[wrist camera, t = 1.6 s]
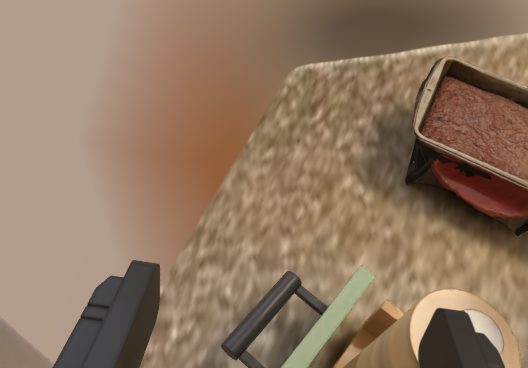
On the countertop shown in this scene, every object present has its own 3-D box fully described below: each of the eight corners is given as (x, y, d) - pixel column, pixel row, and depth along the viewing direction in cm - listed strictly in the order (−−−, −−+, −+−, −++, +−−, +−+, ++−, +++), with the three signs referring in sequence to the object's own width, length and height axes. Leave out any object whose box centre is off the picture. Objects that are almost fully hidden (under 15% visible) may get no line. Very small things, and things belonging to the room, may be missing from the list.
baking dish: (524, 277, 41) (625, 229, 33) (362, 166, 43) (421, 94, 35) (545, 180, 50) (630, 122, 42) (409, 90, 51) (466, 18, 43)
